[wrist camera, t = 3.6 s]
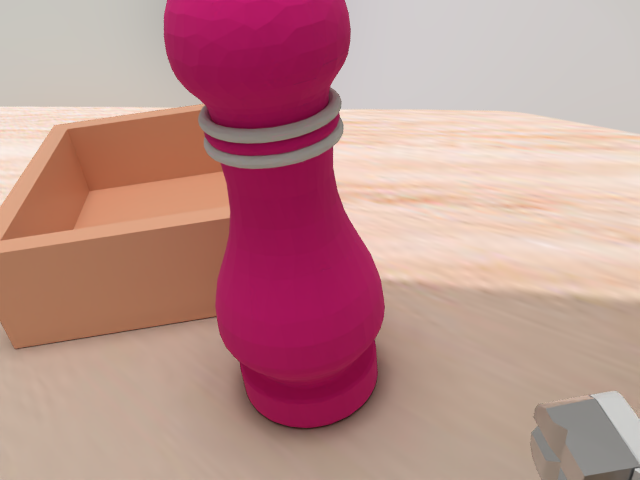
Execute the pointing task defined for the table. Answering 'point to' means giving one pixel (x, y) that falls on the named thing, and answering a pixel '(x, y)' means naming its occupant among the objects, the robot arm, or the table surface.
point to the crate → (113, 229)
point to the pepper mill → (282, 202)
